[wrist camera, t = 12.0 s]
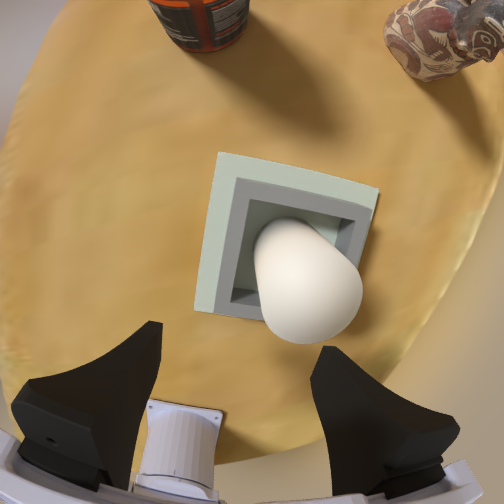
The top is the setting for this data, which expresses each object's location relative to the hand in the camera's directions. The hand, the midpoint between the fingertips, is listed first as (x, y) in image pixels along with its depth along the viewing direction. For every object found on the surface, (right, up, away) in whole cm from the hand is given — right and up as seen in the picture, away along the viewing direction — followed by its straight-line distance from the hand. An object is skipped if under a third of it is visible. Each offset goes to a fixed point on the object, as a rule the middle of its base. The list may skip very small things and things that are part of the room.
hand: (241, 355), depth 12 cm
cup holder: (+3, +5, +9) cm, 11 cm away
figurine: (+15, +22, +5) cm, 27 cm away
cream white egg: (+3, +5, +9) cm, 10 cm away
